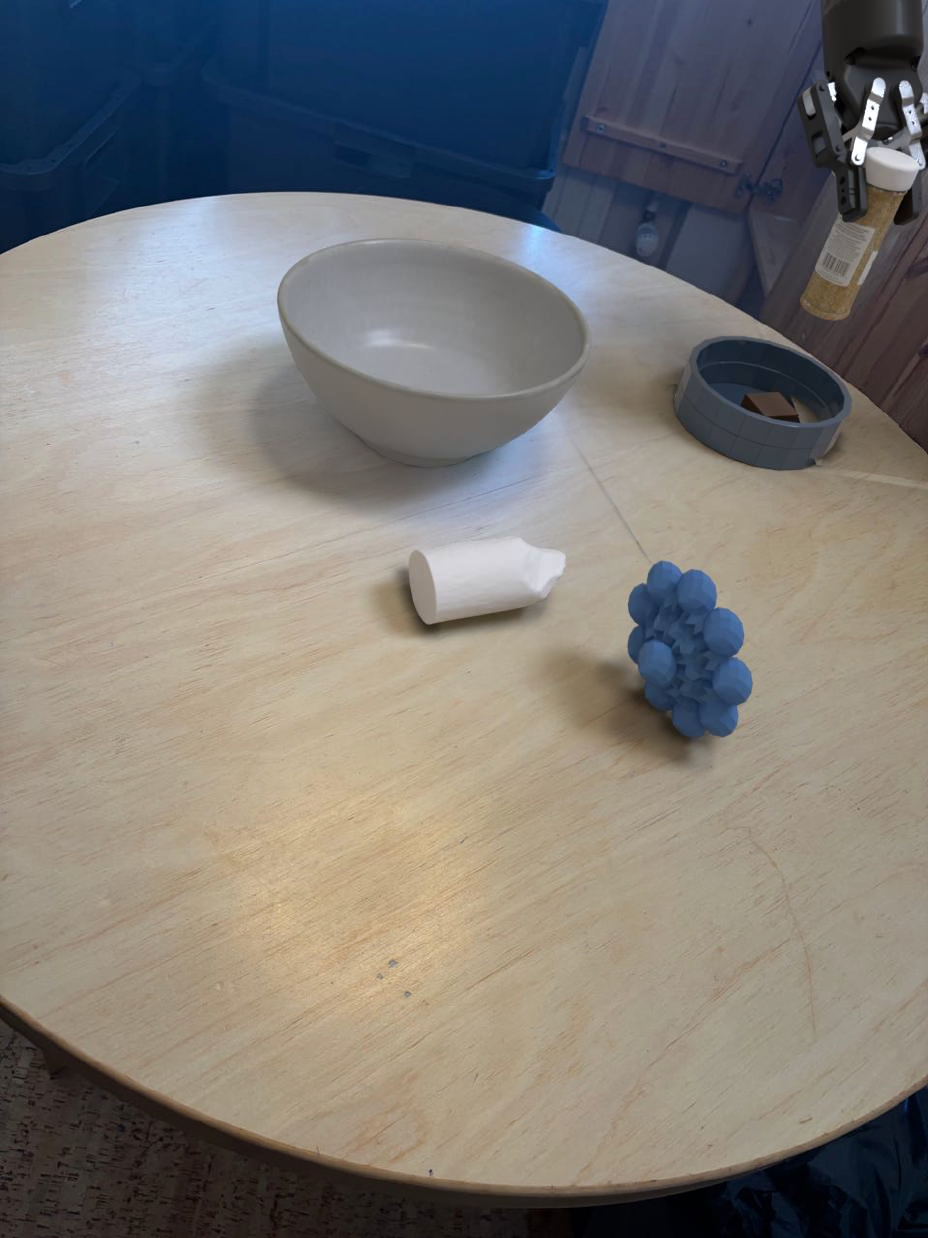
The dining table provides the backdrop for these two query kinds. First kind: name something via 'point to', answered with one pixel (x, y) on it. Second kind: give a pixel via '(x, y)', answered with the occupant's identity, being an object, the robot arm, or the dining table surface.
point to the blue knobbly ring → (688, 650)
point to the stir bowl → (760, 367)
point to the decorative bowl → (430, 345)
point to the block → (769, 406)
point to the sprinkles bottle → (859, 236)
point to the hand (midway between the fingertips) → (881, 219)
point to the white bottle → (481, 577)
